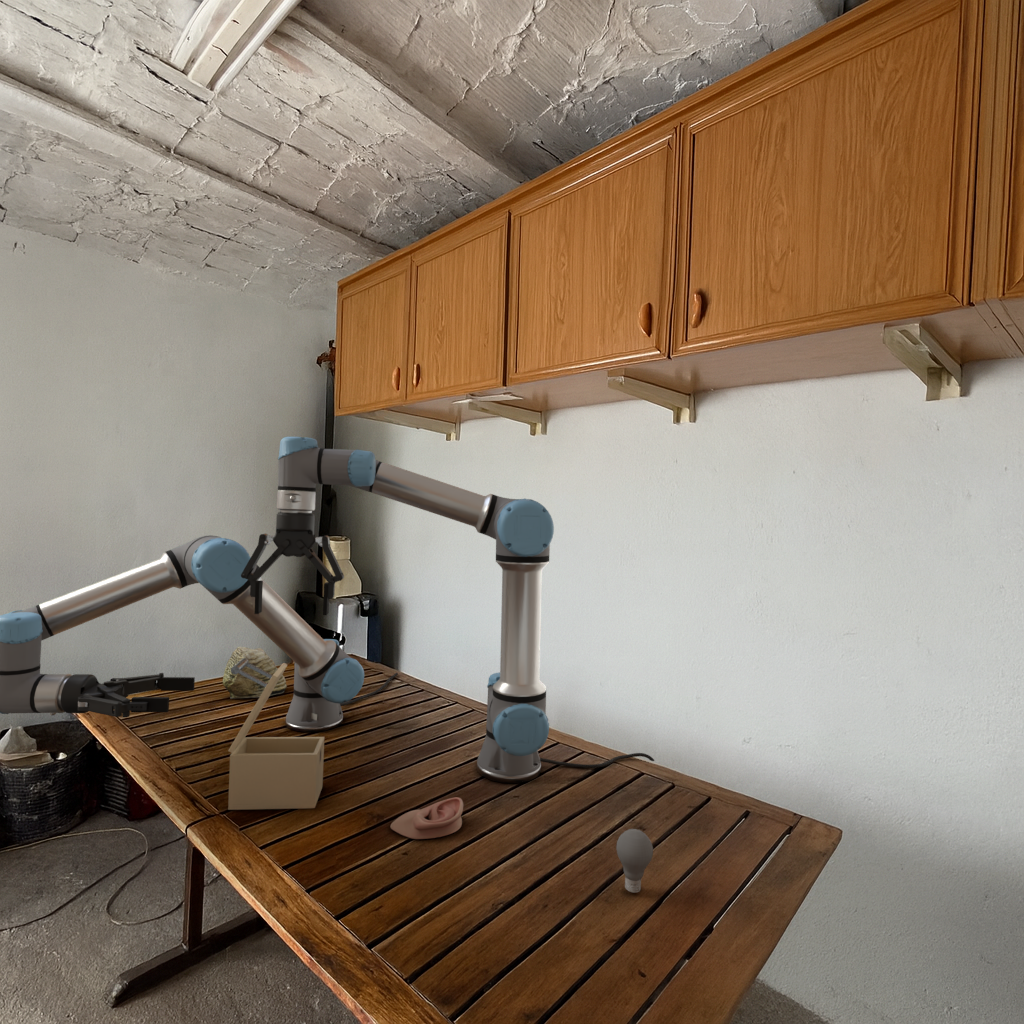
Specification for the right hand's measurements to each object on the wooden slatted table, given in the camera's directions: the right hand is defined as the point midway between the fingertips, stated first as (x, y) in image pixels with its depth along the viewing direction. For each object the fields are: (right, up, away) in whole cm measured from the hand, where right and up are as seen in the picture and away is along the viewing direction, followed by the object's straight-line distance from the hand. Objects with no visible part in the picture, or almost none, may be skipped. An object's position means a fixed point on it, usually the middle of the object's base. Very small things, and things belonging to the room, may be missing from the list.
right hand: (292, 613), depth 132 cm
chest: (-3, -39, 0) cm, 39 cm away
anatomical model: (+29, -40, -8) cm, 50 cm away
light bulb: (+66, -42, -26) cm, 83 cm away
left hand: (-22, -16, -3) cm, 27 cm away
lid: (-6, -19, 0) cm, 20 cm away
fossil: (-35, -36, +66) cm, 83 cm away
